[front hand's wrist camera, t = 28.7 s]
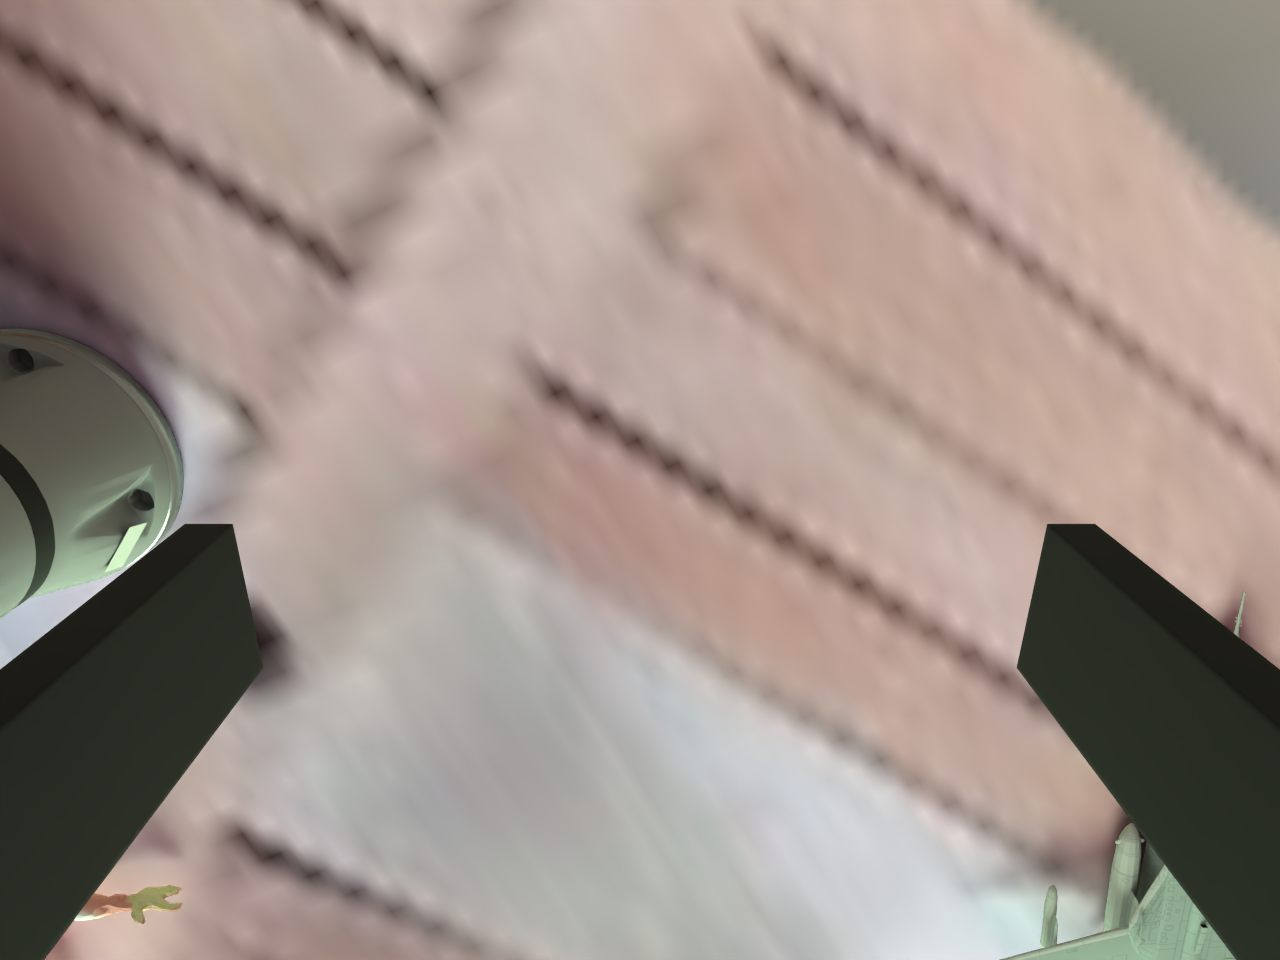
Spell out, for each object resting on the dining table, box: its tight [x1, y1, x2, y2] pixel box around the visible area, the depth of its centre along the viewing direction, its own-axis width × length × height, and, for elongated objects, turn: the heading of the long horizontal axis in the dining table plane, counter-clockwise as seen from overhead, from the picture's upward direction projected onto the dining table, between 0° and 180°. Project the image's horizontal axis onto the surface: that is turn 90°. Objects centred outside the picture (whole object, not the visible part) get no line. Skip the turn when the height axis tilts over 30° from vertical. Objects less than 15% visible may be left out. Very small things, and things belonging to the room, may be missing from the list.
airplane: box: [1001, 592, 1246, 960], centre depth 55 cm, size 38×32×10 cm
